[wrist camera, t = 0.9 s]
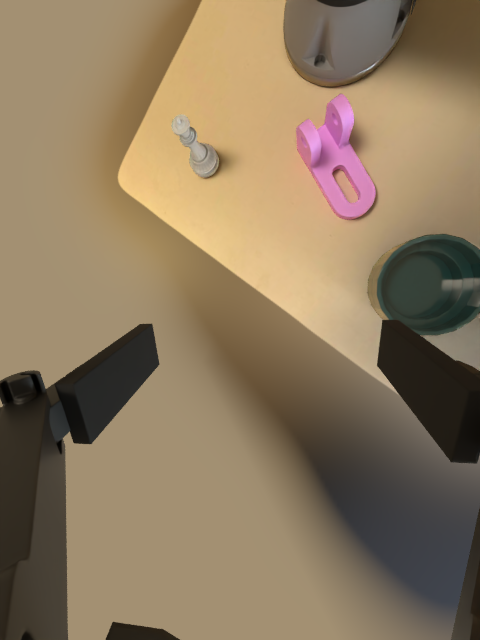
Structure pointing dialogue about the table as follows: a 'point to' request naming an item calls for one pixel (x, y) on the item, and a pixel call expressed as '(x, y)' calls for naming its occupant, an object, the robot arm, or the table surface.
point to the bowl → (428, 284)
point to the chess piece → (196, 148)
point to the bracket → (335, 159)
